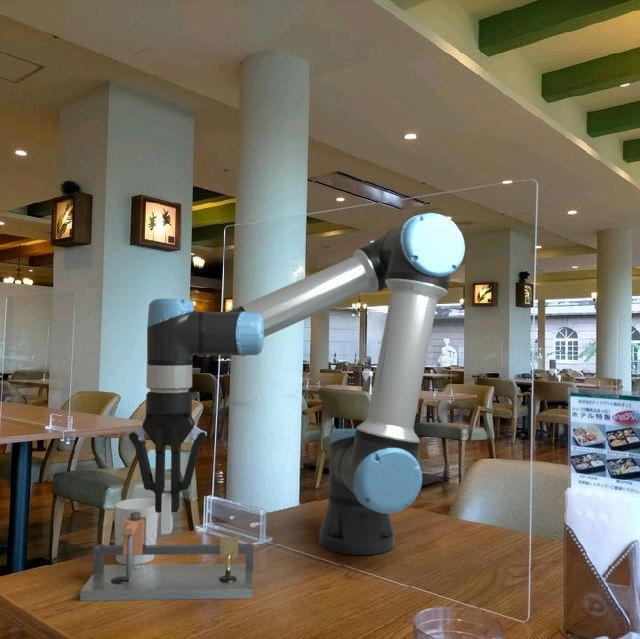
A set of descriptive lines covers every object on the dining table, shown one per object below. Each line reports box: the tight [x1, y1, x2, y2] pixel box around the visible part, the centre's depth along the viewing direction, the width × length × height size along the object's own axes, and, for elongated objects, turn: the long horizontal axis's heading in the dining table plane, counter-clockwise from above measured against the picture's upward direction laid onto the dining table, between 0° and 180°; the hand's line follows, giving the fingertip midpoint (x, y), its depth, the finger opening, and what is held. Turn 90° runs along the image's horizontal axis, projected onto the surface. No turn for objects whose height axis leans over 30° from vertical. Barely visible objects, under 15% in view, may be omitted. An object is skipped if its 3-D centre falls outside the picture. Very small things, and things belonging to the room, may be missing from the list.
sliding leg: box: [123, 512, 146, 579], centre depth 102 cm, size 3×7×9 cm, turn 5°
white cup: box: [114, 498, 160, 565], centre depth 114 cm, size 8×8×10 cm
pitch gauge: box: [79, 536, 255, 602], centre depth 102 cm, size 26×11×7 cm, turn 95°
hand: (166, 531), depth 104 cm, fingers closed
